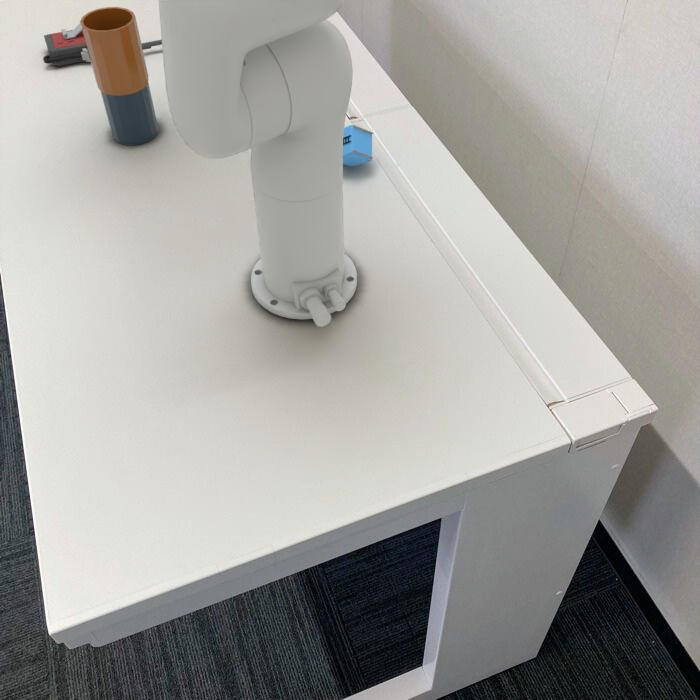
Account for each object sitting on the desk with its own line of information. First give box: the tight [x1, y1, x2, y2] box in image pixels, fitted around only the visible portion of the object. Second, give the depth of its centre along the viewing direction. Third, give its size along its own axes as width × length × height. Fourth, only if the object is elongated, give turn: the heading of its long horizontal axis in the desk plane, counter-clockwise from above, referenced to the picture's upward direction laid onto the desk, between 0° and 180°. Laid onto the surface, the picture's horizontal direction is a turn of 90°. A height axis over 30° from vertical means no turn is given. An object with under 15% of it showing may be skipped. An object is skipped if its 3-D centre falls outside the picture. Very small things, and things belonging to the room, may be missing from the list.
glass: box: [79, 6, 149, 96], centre depth 104 cm, size 7×7×9 cm
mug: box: [99, 82, 159, 146], centre depth 111 cm, size 10×7×8 cm
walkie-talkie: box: [42, 23, 162, 67], centre depth 128 cm, size 9×4×20 cm
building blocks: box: [343, 124, 374, 167], centre depth 107 cm, size 8×8×12 cm
